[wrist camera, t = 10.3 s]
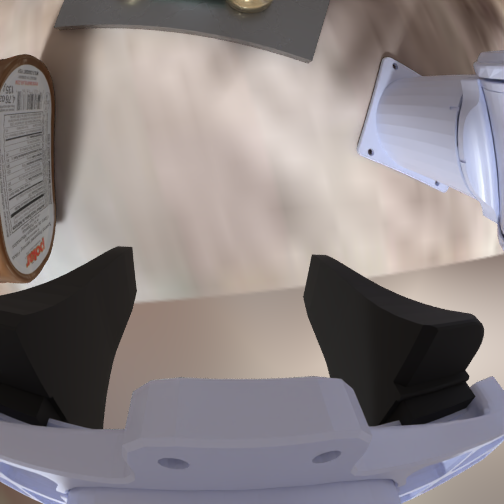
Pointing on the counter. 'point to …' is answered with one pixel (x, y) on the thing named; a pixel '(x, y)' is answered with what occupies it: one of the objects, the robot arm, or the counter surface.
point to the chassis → (210, 20)
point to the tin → (26, 168)
